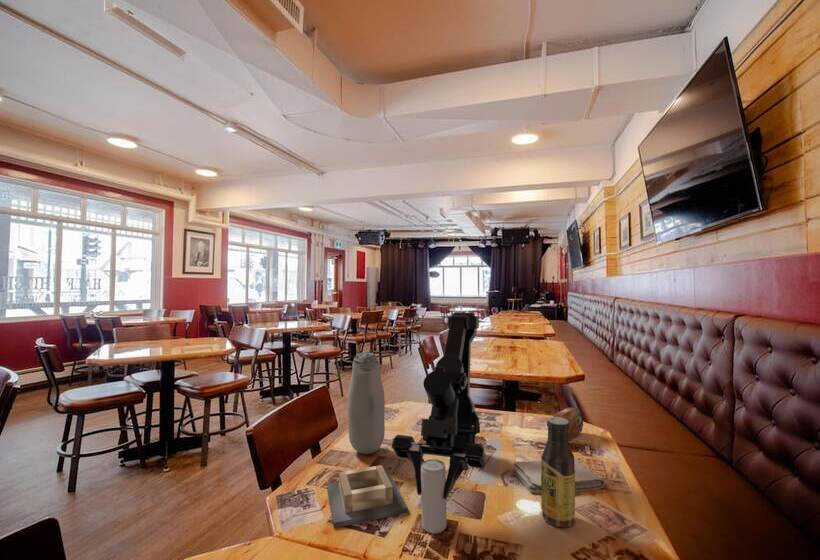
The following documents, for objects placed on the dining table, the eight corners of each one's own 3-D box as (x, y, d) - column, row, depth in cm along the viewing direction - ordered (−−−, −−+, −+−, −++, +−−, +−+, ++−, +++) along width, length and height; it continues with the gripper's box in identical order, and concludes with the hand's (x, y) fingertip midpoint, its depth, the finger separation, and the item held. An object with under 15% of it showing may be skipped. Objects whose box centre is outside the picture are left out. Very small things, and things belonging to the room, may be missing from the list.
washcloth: (509, 472, 94) (509, 459, 94) (575, 465, 97) (574, 453, 97) (532, 498, 82) (531, 484, 82) (606, 490, 85) (605, 476, 85)
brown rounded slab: (558, 447, 107) (558, 417, 107) (548, 443, 109) (548, 414, 109) (584, 433, 116) (583, 406, 116) (574, 430, 119) (574, 403, 119)
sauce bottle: (536, 511, 77) (534, 414, 77) (565, 509, 77) (563, 412, 78) (550, 532, 70) (548, 426, 71) (582, 529, 71) (580, 424, 71)
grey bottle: (342, 450, 107) (341, 352, 107) (373, 441, 113) (371, 348, 113) (360, 463, 99) (358, 357, 99) (391, 452, 105) (390, 352, 105)
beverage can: (445, 536, 69) (444, 471, 70) (419, 533, 70) (418, 469, 71) (447, 520, 74) (446, 459, 74) (423, 518, 75) (422, 458, 75)
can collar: (389, 477, 91) (389, 458, 91) (407, 512, 77) (407, 490, 77) (326, 488, 87) (326, 468, 87) (333, 528, 72) (333, 504, 73)
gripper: (393, 396, 79) (374, 474, 69) (482, 403, 74) (476, 489, 63) (405, 420, 87) (389, 494, 76) (487, 428, 81) (482, 509, 70)
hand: (431, 496), depth 71 cm, fingers closed on beverage can, 5 cm apart
